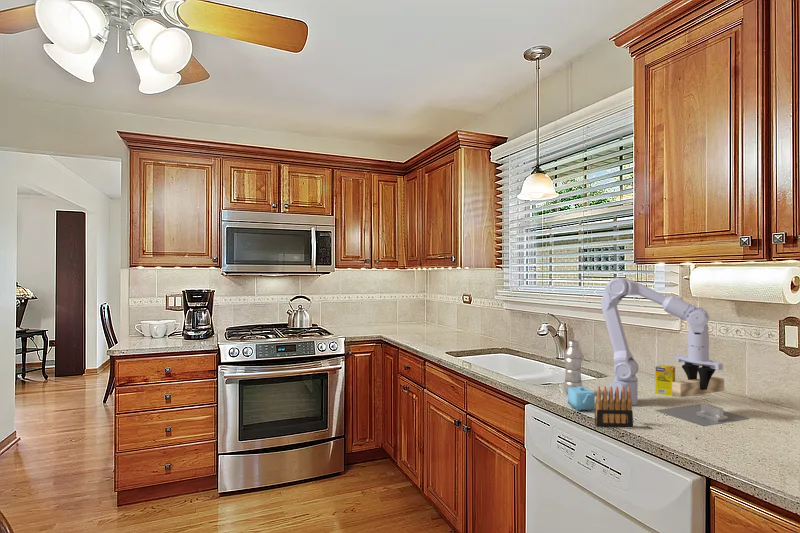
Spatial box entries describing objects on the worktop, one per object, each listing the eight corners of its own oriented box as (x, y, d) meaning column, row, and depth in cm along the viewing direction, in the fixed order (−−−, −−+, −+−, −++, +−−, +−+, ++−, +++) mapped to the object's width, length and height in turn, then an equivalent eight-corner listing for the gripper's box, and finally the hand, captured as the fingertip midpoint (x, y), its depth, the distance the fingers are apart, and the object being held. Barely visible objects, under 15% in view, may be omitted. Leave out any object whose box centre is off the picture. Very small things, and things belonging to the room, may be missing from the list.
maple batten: (680, 397, 150) (680, 384, 150) (671, 394, 153) (671, 382, 153) (724, 390, 158) (724, 378, 158) (715, 388, 161) (715, 376, 161)
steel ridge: (718, 421, 147) (718, 410, 147) (696, 415, 154) (696, 404, 154) (727, 420, 149) (728, 408, 149) (706, 413, 155) (706, 402, 155)
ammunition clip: (630, 425, 146) (630, 385, 146) (633, 427, 144) (633, 387, 144) (594, 424, 147) (594, 385, 147) (596, 426, 145) (596, 386, 145)
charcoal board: (703, 429, 143) (703, 426, 143) (654, 413, 158) (654, 410, 158) (751, 421, 150) (751, 418, 150) (699, 406, 166) (699, 404, 166)
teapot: (599, 415, 156) (599, 392, 156) (580, 415, 156) (581, 392, 156) (583, 404, 168) (583, 383, 168) (566, 404, 168) (566, 383, 168)
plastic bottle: (584, 396, 178) (584, 342, 179) (564, 395, 180) (565, 341, 180) (581, 392, 185) (581, 340, 185) (562, 391, 186) (562, 339, 186)
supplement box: (673, 398, 176) (673, 368, 176) (654, 396, 180) (654, 366, 180) (675, 395, 181) (675, 366, 181) (657, 392, 185) (657, 364, 185)
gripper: (729, 348, 150) (729, 392, 150) (686, 342, 164) (686, 382, 164) (713, 349, 148) (713, 394, 148) (671, 343, 161) (671, 384, 161)
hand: (698, 388), depth 155 cm, fingers closed on maple batten, 3 cm apart
